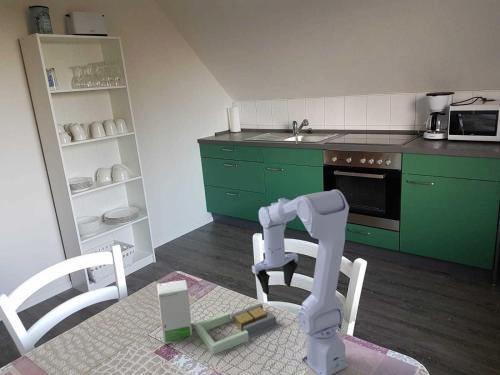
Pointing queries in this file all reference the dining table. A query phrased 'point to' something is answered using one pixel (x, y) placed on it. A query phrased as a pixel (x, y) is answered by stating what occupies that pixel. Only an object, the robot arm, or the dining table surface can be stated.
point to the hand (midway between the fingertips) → (276, 288)
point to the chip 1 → (243, 320)
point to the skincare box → (174, 310)
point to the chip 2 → (257, 314)
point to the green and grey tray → (247, 333)
